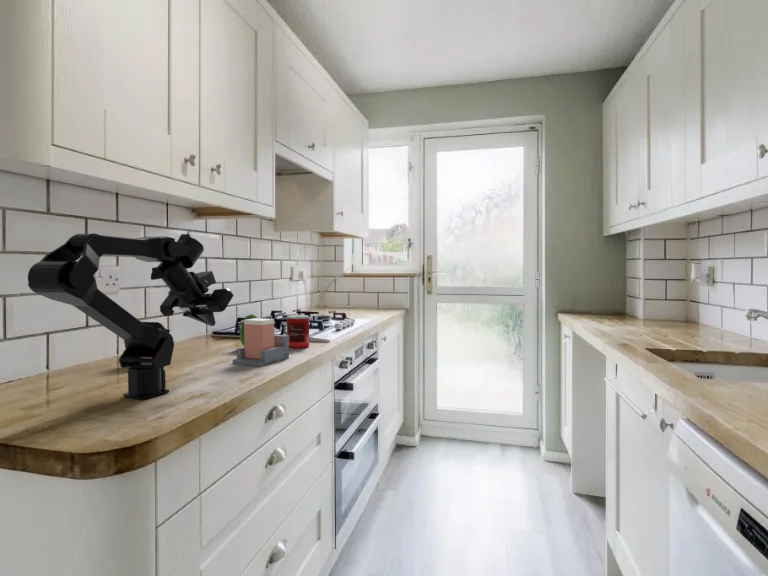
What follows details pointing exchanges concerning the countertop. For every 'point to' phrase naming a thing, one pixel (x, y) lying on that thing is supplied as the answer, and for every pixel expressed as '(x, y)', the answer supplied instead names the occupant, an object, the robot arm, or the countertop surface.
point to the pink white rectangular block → (258, 336)
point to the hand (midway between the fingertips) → (213, 324)
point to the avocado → (243, 327)
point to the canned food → (298, 331)
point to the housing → (266, 353)
